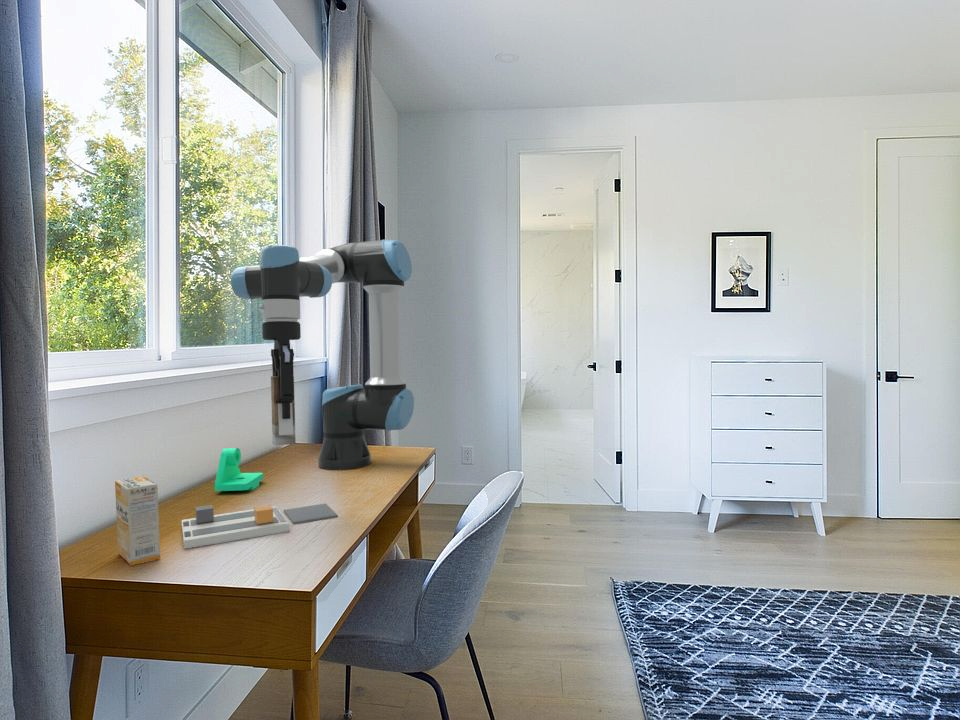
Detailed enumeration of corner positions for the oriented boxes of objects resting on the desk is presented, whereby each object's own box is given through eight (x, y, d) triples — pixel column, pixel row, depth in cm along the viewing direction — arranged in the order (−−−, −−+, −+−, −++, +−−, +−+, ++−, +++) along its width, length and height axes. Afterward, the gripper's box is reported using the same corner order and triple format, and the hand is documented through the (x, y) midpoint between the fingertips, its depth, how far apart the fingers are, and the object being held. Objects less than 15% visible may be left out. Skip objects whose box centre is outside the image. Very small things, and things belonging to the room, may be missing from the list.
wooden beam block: (292, 441, 125) (290, 375, 125) (295, 443, 121) (293, 376, 121) (272, 442, 123) (270, 376, 123) (275, 445, 119) (273, 377, 119)
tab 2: (270, 517, 116) (270, 505, 116) (273, 521, 113) (272, 509, 113) (254, 520, 114) (254, 507, 114) (256, 524, 112) (256, 511, 112)
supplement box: (116, 554, 102) (113, 480, 101) (147, 547, 105) (144, 475, 105) (129, 567, 96) (125, 488, 95) (161, 559, 99) (158, 482, 99)
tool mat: (325, 505, 130) (325, 503, 130) (337, 516, 121) (337, 514, 121) (283, 511, 126) (283, 509, 126) (292, 524, 117) (292, 522, 117)
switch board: (276, 512, 125) (276, 505, 125) (289, 531, 113) (288, 522, 112) (181, 527, 116) (181, 519, 116) (184, 548, 104) (183, 540, 104)
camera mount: (246, 494, 141) (245, 452, 141) (215, 495, 141) (213, 453, 141) (264, 482, 153) (263, 443, 153) (235, 483, 153) (233, 444, 153)
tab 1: (212, 517, 117) (212, 504, 117) (213, 520, 114) (213, 508, 114) (195, 519, 116) (195, 507, 116) (196, 523, 113) (196, 510, 113)
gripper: (257, 322, 127) (260, 429, 128) (267, 318, 112) (270, 440, 113) (293, 322, 131) (295, 427, 131) (307, 319, 116) (310, 437, 116)
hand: (284, 433), depth 122 cm, fingers closed on wooden beam block, 4 cm apart
